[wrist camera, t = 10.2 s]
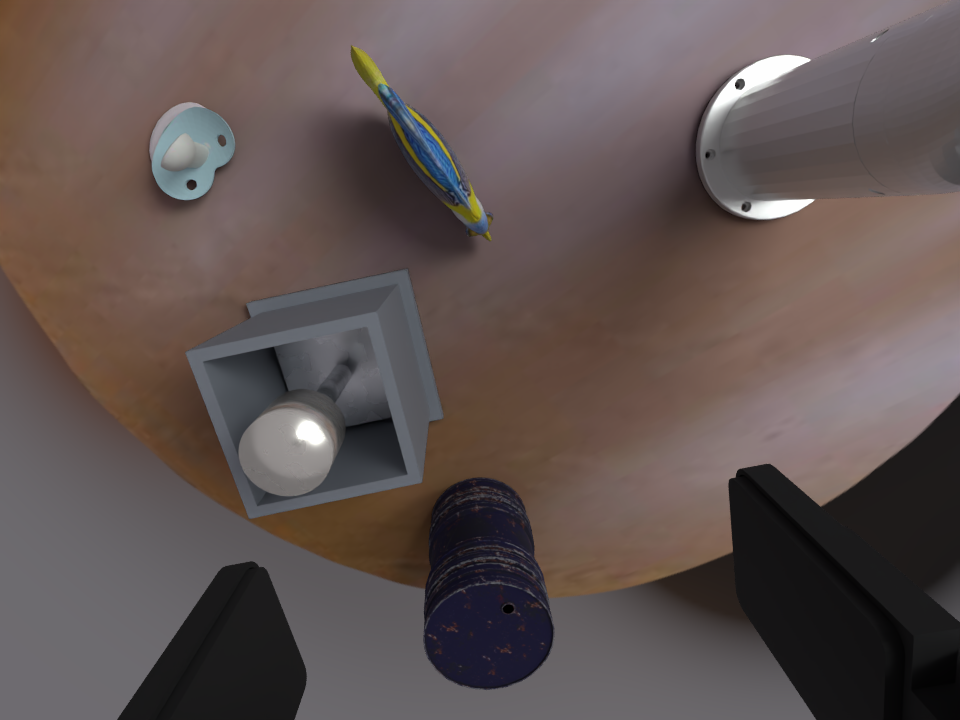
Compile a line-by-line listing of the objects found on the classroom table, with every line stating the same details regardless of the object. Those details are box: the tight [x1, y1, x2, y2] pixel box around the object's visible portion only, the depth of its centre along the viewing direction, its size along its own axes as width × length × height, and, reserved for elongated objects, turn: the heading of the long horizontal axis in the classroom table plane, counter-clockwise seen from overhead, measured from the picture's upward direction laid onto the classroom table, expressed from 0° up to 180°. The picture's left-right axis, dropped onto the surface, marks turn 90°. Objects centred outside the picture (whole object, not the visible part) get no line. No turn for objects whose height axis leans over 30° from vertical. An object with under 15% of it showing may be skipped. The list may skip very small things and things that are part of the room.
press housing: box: [185, 268, 443, 519], centre depth 40 cm, size 14×14×14 cm
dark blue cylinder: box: [423, 478, 554, 690], centre depth 44 cm, size 10×10×15 cm
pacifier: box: [149, 102, 235, 200], centre depth 38 cm, size 7×6×6 cm
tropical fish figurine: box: [351, 45, 493, 241], centre depth 37 cm, size 16×3×10 cm, turn 37°
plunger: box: [239, 327, 392, 496], centre depth 36 cm, size 9×9×16 cm
